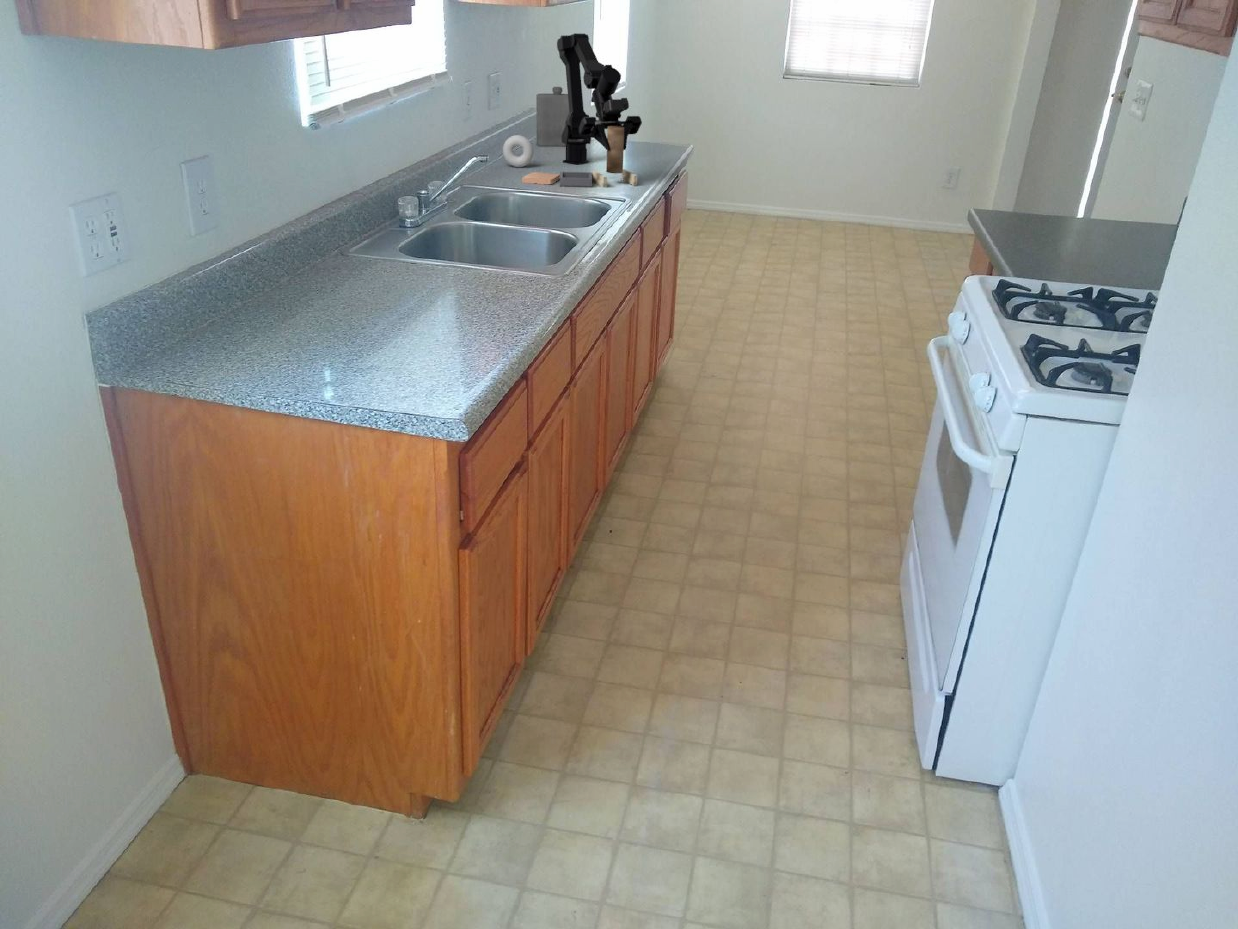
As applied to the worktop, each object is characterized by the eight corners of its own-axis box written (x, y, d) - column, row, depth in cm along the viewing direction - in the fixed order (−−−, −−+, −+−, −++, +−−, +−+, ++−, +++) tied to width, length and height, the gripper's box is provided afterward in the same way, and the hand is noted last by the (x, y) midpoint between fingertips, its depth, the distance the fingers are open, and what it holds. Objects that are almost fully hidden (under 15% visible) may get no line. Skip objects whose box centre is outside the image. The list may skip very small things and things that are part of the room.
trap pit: (560, 179, 293) (560, 171, 292) (591, 180, 293) (591, 172, 292) (559, 186, 284) (559, 177, 283) (591, 187, 285) (591, 178, 284)
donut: (534, 166, 310) (534, 134, 305) (532, 168, 307) (532, 136, 302) (504, 165, 310) (503, 133, 306) (502, 167, 307) (501, 135, 303)
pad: (532, 176, 295) (532, 171, 295) (560, 179, 293) (560, 174, 293) (522, 182, 288) (522, 177, 287) (550, 184, 286) (550, 179, 285)
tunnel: (591, 180, 293) (591, 170, 292) (624, 179, 297) (624, 169, 296) (603, 187, 285) (603, 177, 284) (637, 185, 289) (637, 175, 288)
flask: (577, 144, 350) (577, 86, 341) (578, 147, 345) (579, 88, 336) (536, 143, 349) (536, 85, 339) (537, 146, 344) (536, 87, 334)
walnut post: (603, 171, 289) (604, 126, 283) (612, 169, 293) (614, 125, 286) (616, 174, 286) (617, 128, 280) (625, 171, 290) (627, 127, 284)
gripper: (582, 88, 278) (595, 133, 275) (640, 87, 285) (654, 131, 281) (573, 112, 288) (585, 156, 285) (629, 111, 295) (642, 154, 291)
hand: (616, 149), depth 285 cm, fingers closed on walnut post, 5 cm apart
